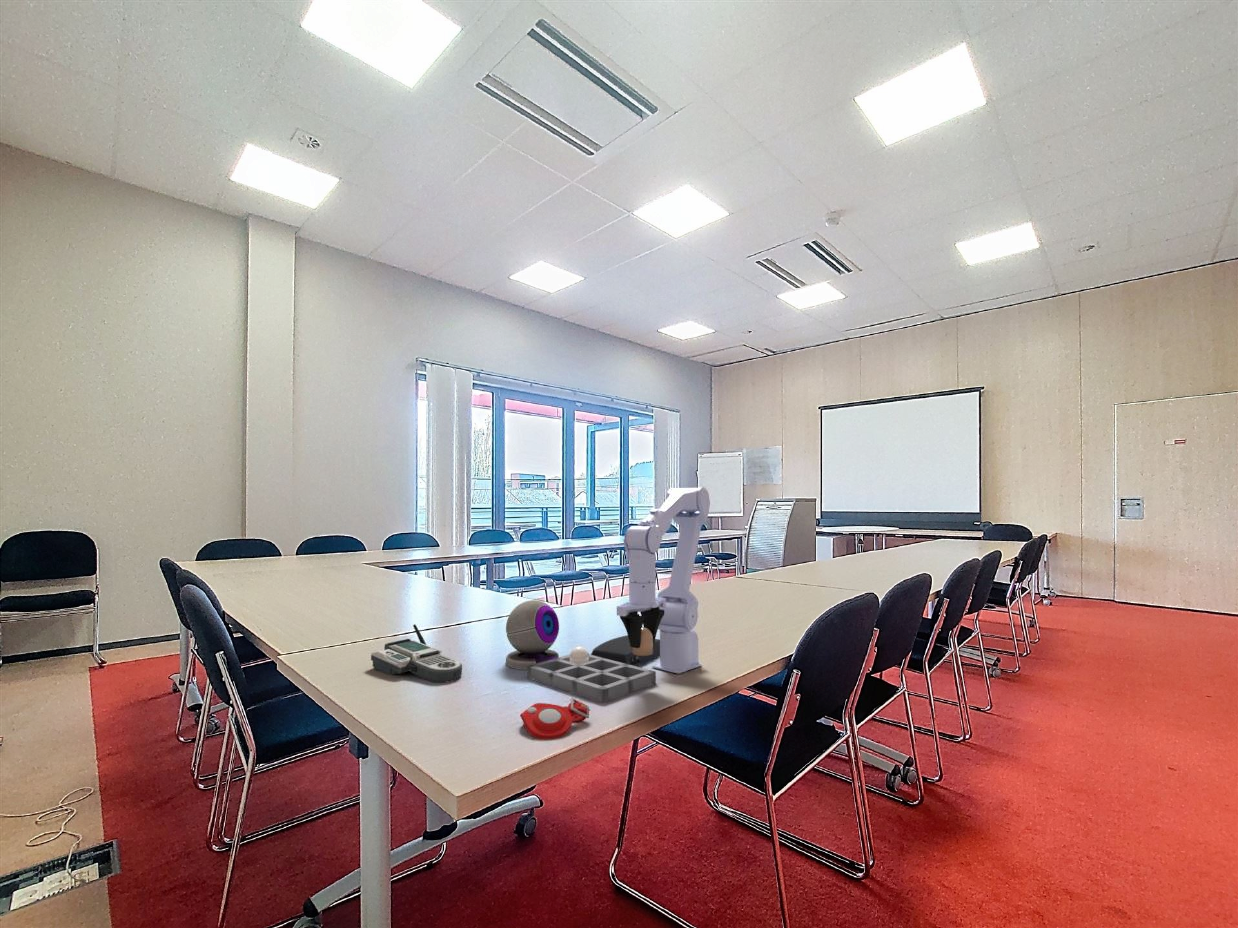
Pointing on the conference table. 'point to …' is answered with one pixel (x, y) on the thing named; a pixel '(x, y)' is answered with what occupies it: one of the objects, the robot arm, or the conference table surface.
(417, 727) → the conference table surface
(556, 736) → the tracker holder
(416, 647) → the communication device
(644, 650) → the tan bulbous object
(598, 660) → the egg crate
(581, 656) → the cream egg
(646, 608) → the robot arm
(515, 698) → the conference table surface
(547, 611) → the webcam
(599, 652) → the external hard drive
